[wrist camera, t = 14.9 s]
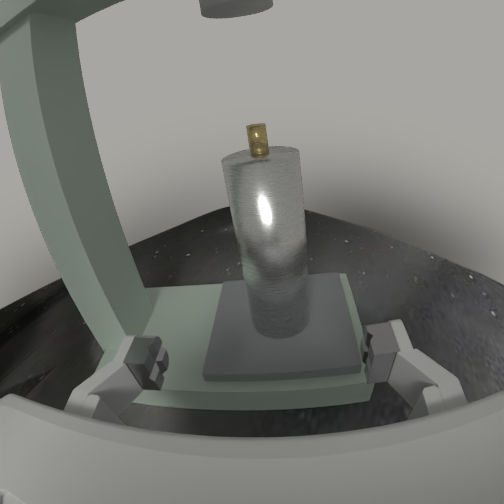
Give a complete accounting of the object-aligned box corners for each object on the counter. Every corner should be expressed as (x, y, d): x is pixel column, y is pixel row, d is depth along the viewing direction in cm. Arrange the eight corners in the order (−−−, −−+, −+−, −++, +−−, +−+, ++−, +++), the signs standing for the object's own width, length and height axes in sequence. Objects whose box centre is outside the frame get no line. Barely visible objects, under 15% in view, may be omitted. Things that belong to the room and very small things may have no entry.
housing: (250, 340, 24) (208, 137, 16) (254, 301, 28) (223, 125, 20) (311, 336, 23) (298, 125, 15) (307, 297, 28) (293, 116, 20)
